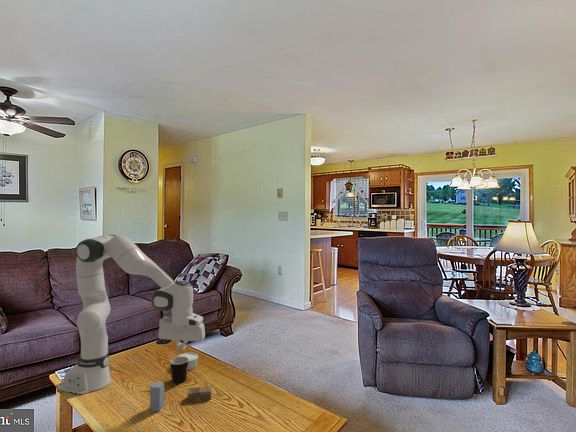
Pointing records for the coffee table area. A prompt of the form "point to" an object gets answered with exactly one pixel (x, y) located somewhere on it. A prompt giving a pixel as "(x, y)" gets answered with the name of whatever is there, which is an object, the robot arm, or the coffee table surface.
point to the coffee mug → (179, 369)
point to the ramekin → (190, 359)
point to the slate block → (157, 396)
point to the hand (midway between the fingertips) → (181, 349)
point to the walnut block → (199, 394)
